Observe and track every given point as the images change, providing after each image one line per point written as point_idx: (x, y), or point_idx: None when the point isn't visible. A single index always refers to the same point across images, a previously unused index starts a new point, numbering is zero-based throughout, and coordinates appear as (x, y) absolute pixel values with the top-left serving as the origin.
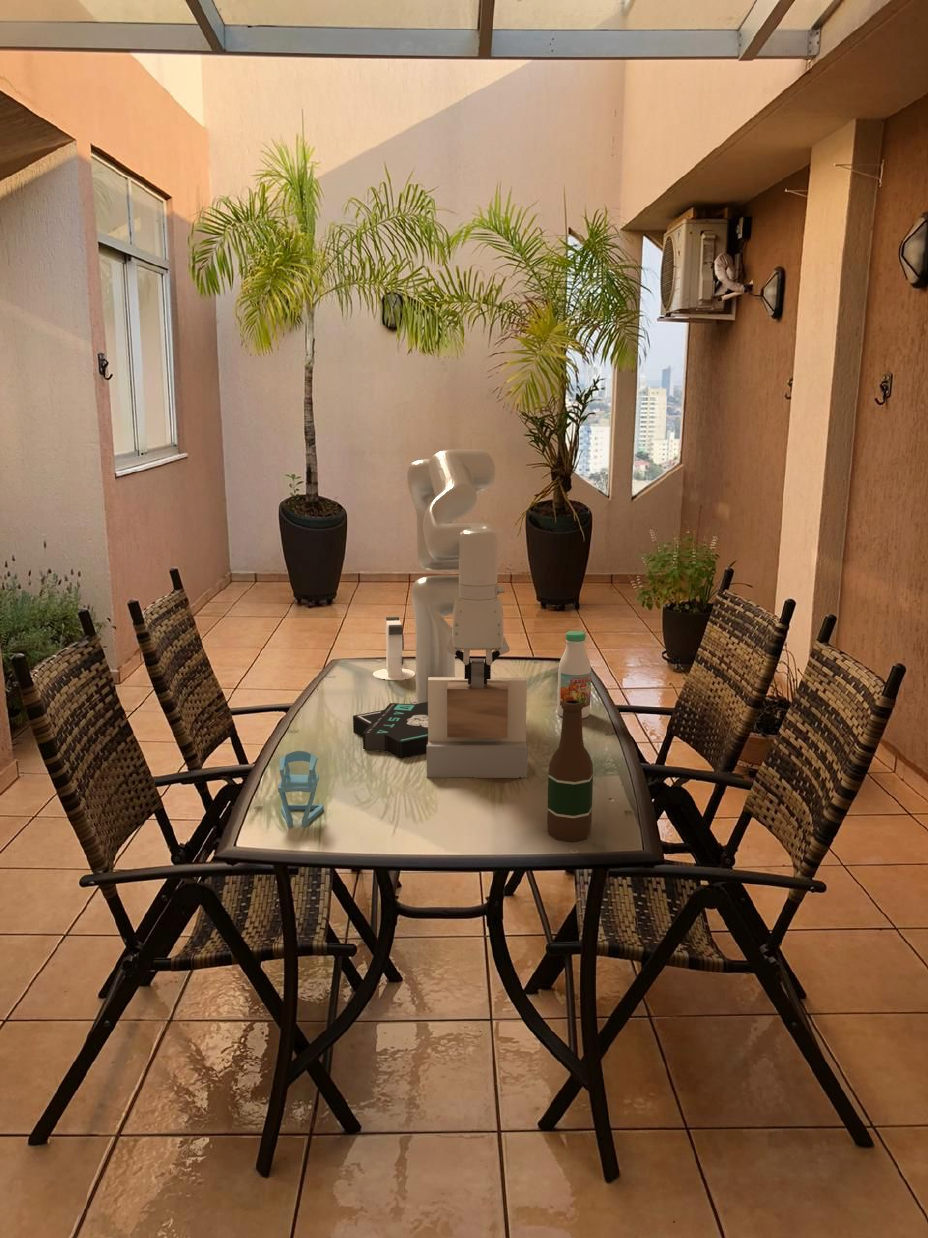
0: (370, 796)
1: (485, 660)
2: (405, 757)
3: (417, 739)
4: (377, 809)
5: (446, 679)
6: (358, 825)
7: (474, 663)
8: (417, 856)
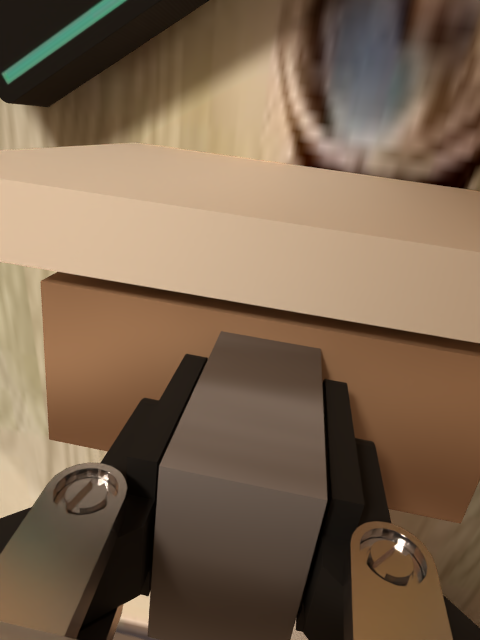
0: (5, 387)
1: (316, 631)
2: (57, 99)
3: (67, 66)
4: (32, 454)
5: (20, 248)
6: (8, 511)
7: (182, 629)
8: (122, 626)
